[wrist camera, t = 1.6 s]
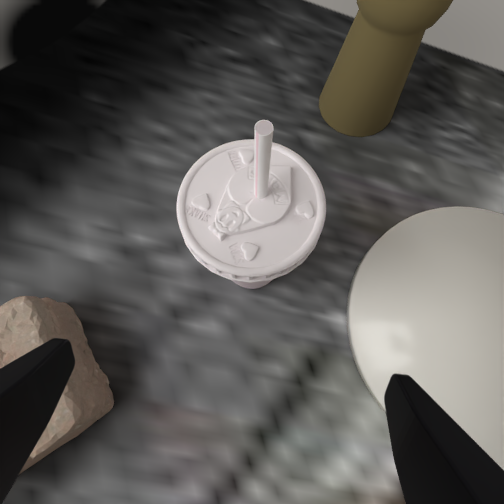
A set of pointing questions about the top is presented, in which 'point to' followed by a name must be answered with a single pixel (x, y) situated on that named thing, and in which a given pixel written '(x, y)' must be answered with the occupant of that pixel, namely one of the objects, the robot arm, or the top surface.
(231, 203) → the smoothie
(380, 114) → the cork
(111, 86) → the top surface
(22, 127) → the top surface
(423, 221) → the plate
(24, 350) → the brick
